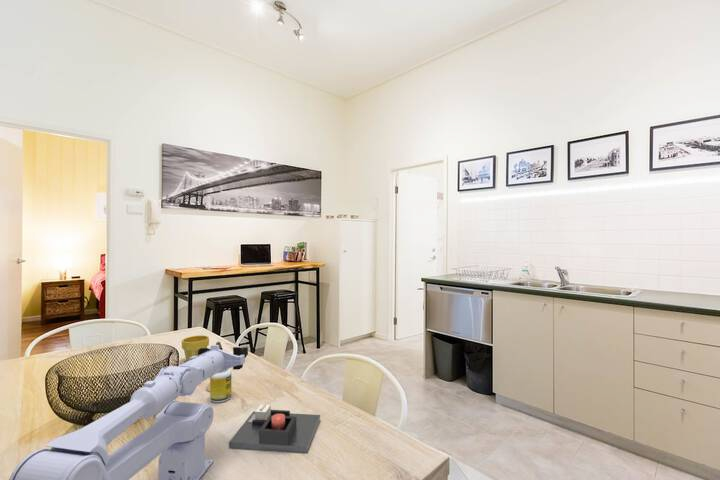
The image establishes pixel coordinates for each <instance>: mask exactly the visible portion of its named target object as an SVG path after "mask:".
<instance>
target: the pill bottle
mask: <svg viewBox="0 0 720 480" xmlns="http://www.w3.org/2000/svg"><path fill="white" fill-rule="evenodd" d="M209 383H210V392H209V395H210V396H209V397H210V401H211V402H213V403H224V402H227V401H229V400H231V398H232V395H233V393H232V390H233V389H232V370H231V368H229V369H227V370H224V371H222V372H220V373H216V374H215V375H213V376H211V377H210V378H209Z"/></svg>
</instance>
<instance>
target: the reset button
mask: <svg viewBox="0 0 720 480" xmlns="http://www.w3.org/2000/svg"><path fill="white" fill-rule="evenodd" d="M284 428H285V415H284V414H275V415H273V416H272V429H276V430H282V429H284Z"/></svg>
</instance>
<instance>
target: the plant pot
mask: <svg viewBox="0 0 720 480" xmlns="http://www.w3.org/2000/svg"><path fill="white" fill-rule="evenodd" d="M209 346H210V336H208V335H202V334H201V335H191V336H188V337H184V338H183V339H182V340H181V348H182V350H183V353H184V356H185V359H186V362H188V361H189V358H190V357H193V356H198V350H199V349H201V348H208V347H209Z"/></svg>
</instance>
